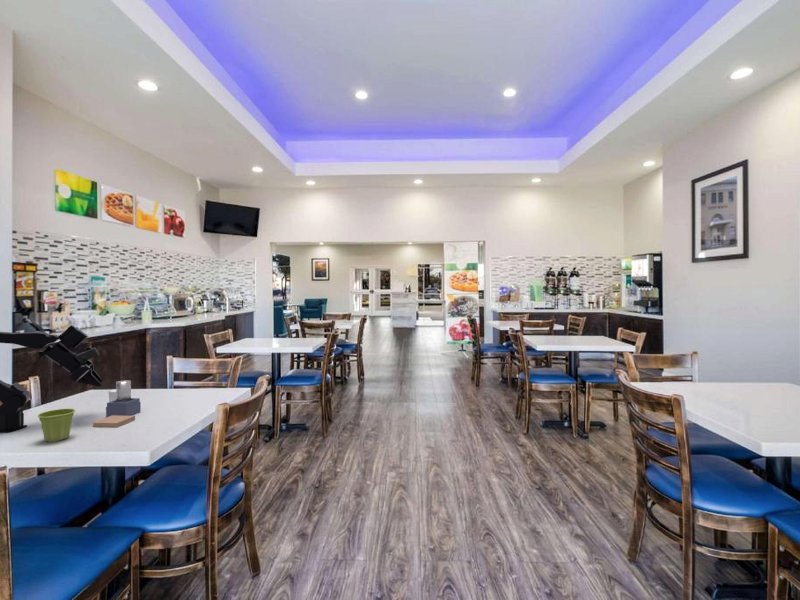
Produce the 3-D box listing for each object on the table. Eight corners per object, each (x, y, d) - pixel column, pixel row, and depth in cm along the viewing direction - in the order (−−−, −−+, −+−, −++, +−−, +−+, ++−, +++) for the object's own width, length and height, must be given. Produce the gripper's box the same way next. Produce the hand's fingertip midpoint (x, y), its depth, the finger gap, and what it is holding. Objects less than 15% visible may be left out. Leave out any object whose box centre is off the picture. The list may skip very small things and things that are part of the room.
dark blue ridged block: (125, 417, 156) (125, 403, 156) (106, 417, 156) (106, 402, 156) (140, 411, 164) (140, 398, 164) (121, 411, 164) (121, 397, 164)
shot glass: (116, 409, 167) (115, 392, 167) (104, 408, 170) (104, 391, 170) (131, 405, 174) (131, 388, 174) (120, 403, 176) (120, 387, 176)
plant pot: (73, 440, 131) (73, 413, 131) (34, 446, 126) (34, 418, 126) (77, 432, 139) (77, 407, 139) (41, 437, 134) (40, 411, 134)
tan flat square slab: (116, 427, 144) (116, 423, 144) (92, 426, 145) (92, 422, 145) (135, 419, 153) (134, 415, 153) (112, 419, 154) (112, 415, 154)
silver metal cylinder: (125, 406, 158) (124, 382, 157) (113, 405, 158) (113, 382, 158) (133, 402, 162) (133, 380, 162) (122, 402, 163) (122, 380, 163)
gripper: (81, 343, 145) (119, 370, 152) (85, 338, 161) (119, 364, 167) (52, 367, 141) (92, 394, 147) (59, 360, 156) (95, 385, 163)
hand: (101, 383), depth 156 cm, fingers open, 9 cm apart
